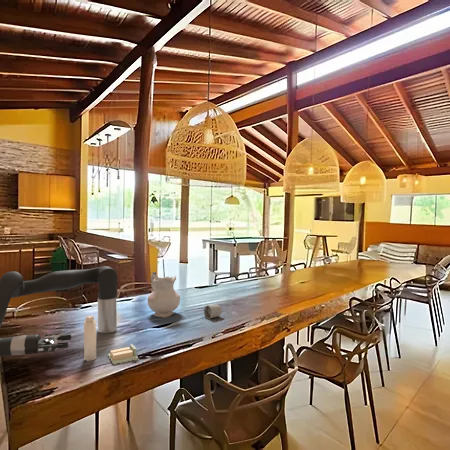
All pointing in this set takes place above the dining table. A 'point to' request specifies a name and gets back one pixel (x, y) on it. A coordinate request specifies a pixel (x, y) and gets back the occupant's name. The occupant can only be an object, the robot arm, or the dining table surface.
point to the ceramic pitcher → (163, 296)
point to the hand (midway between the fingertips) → (69, 340)
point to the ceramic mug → (212, 311)
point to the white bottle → (89, 338)
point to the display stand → (123, 354)
